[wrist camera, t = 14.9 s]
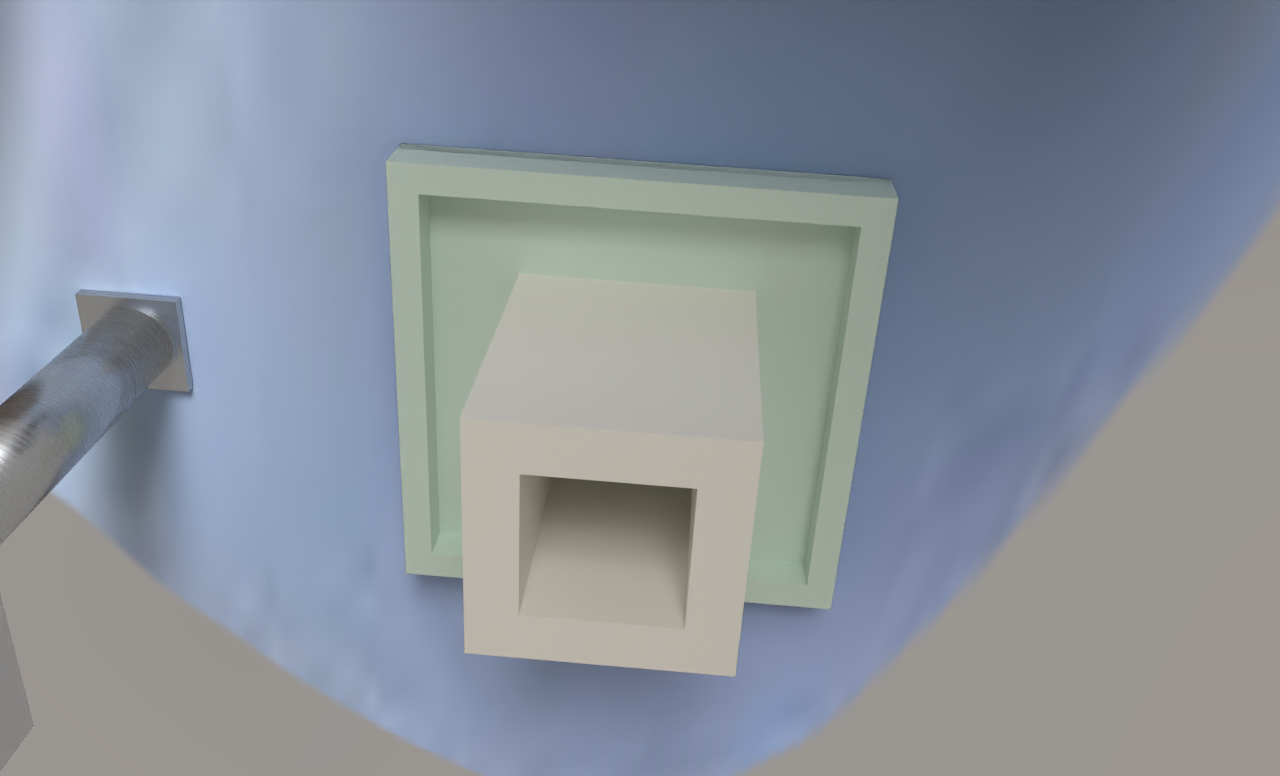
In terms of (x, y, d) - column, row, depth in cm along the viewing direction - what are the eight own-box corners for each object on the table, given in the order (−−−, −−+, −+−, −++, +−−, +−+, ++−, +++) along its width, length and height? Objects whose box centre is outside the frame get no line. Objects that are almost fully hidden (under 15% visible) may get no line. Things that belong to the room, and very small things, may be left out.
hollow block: (519, 273, 40) (459, 417, 31) (755, 291, 39) (763, 442, 30) (518, 473, 43) (464, 653, 34) (733, 491, 43) (735, 676, 34)
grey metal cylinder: (80, 289, 42) (-128, 457, 31) (180, 297, 41) (3, 468, 31) (97, 379, 43) (-96, 565, 33) (193, 386, 43) (29, 575, 33)
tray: (401, 143, 38) (385, 161, 37) (890, 179, 38) (898, 199, 36) (418, 542, 46) (406, 573, 44) (826, 576, 45) (830, 609, 44)
